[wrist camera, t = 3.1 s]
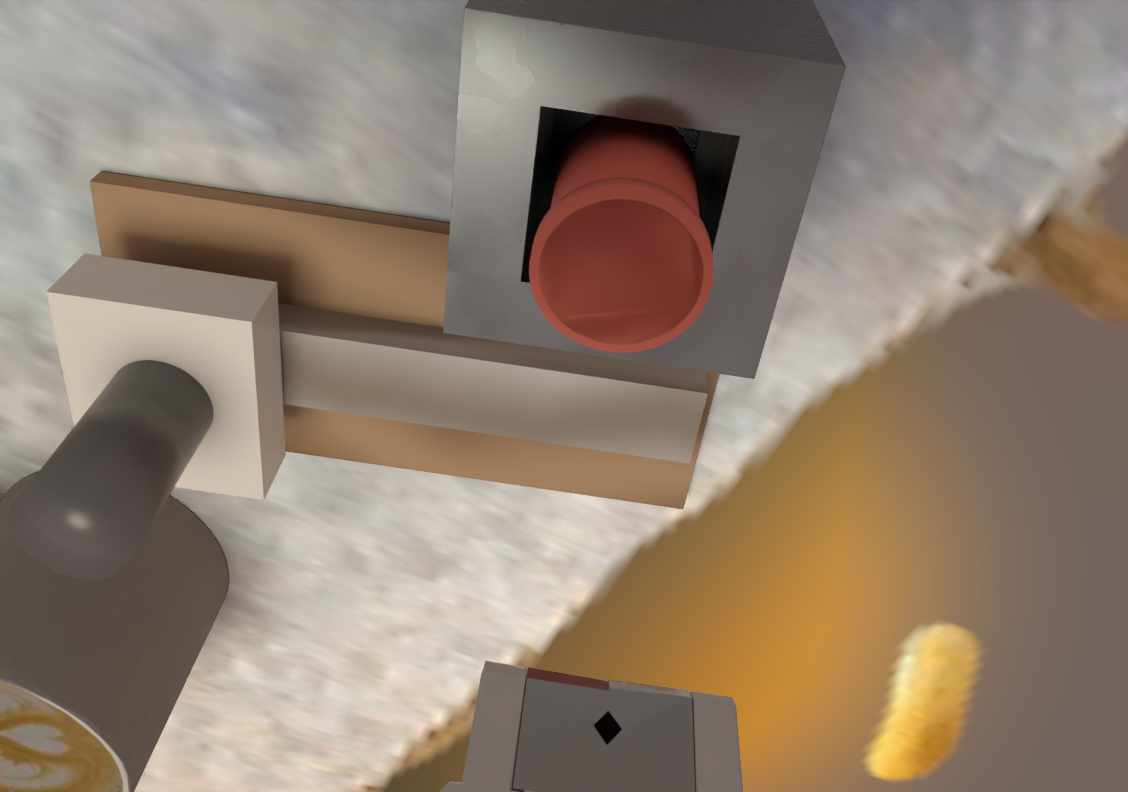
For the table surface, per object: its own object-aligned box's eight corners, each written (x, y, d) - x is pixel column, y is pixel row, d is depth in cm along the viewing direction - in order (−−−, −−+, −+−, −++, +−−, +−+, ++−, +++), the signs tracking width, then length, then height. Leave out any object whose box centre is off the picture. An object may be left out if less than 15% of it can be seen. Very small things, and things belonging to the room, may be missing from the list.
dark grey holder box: (510, -70, 27) (464, 8, 21) (800, -26, 27) (845, 65, 21) (486, 200, 32) (443, 332, 25) (734, 237, 32) (754, 378, 25)
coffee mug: (273, 561, 42) (182, 770, 34) (157, 663, 47) (52, 869, 39) (-22, 372, 37) (-209, 562, 29) (-119, 506, 42) (-304, 703, 34)
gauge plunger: (559, 90, 23) (539, 175, 19) (719, 115, 24) (731, 205, 19) (541, 235, 26) (520, 338, 22) (687, 257, 26) (693, 364, 22)
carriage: (84, 253, 31) (-77, 414, 24) (277, 282, 31) (169, 450, 24) (115, 430, 35) (-15, 610, 28) (285, 454, 35) (196, 640, 28)
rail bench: (100, 171, 32) (65, 202, 30) (742, 267, 32) (748, 304, 31) (139, 415, 38) (111, 455, 36) (682, 495, 38) (684, 538, 36)
